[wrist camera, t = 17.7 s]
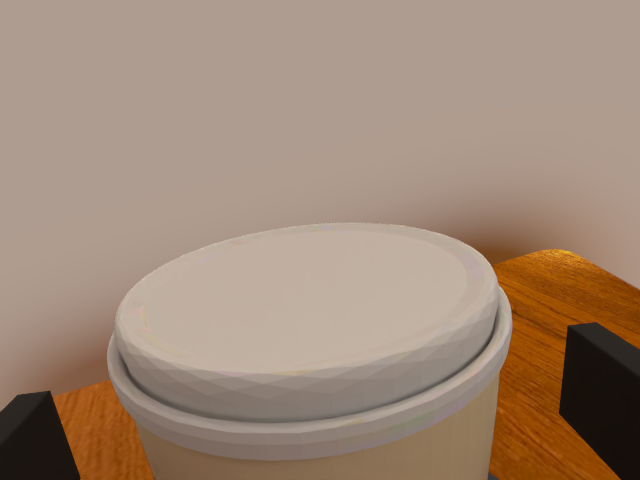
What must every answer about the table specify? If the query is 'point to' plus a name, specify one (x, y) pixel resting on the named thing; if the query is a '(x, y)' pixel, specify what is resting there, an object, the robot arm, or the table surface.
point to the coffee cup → (315, 357)
